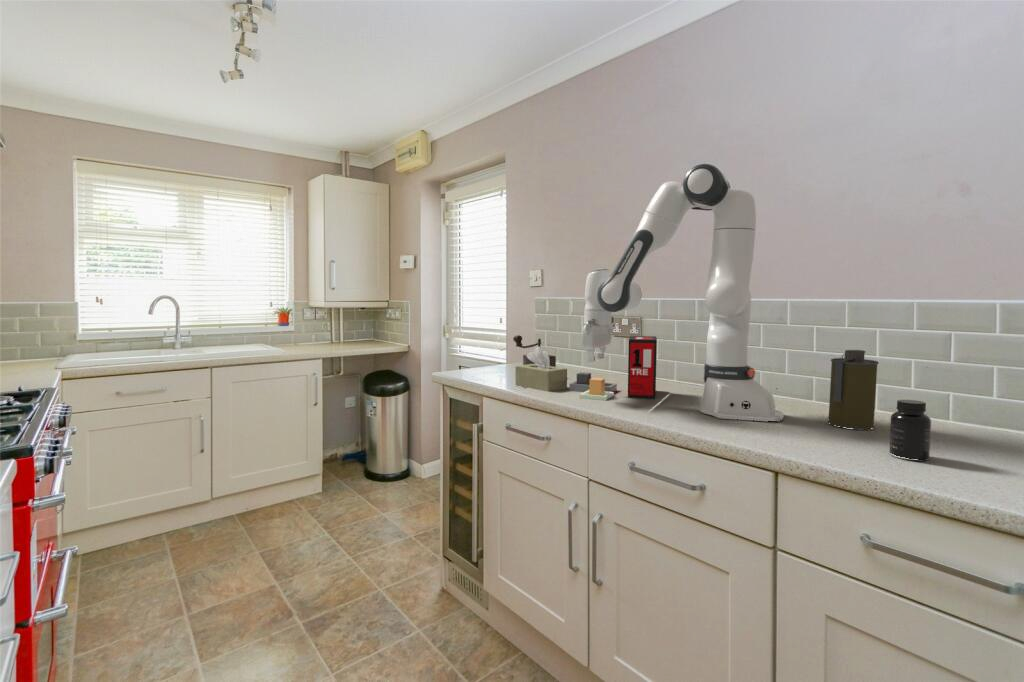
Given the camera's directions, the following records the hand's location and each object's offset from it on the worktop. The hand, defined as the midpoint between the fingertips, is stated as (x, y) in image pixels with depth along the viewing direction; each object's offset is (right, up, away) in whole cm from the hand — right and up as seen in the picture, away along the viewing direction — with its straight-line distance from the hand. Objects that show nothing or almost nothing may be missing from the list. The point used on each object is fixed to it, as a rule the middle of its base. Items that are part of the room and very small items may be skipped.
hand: (596, 360), depth 171 cm
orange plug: (0, -12, +1) cm, 12 cm away
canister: (+62, -16, -35) cm, 73 cm away
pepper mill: (-19, -9, +46) cm, 50 cm away
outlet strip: (+1, -12, +13) cm, 17 cm away
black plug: (-2, -11, +14) cm, 18 cm away
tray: (0, -13, +1) cm, 13 cm away
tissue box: (-17, -12, +21) cm, 30 cm away
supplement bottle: (+56, -19, -62) cm, 86 cm away
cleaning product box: (+17, -13, +6) cm, 22 cm away
